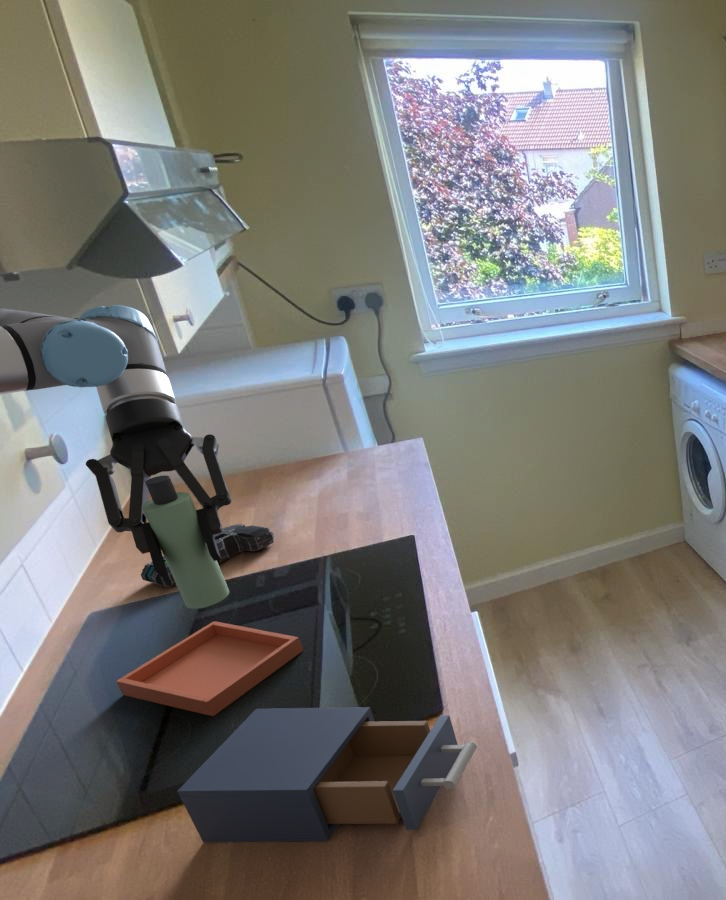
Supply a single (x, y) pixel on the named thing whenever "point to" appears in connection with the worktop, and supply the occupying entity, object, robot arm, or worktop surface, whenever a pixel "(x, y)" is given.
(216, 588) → the green bottle
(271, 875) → the worktop surface
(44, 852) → the worktop surface
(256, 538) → the sci-fi power cell
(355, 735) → the drawer
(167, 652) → the tray
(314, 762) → the cabinet
